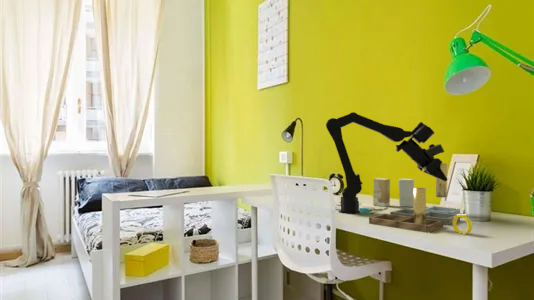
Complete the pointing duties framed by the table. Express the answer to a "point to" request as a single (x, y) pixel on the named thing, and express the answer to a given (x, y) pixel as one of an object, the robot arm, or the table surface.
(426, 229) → the tray
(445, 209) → the tray
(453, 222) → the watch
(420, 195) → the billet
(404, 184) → the skincare box
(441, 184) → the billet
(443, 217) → the tray
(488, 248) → the table surface
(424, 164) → the robot arm
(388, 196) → the skincare box
